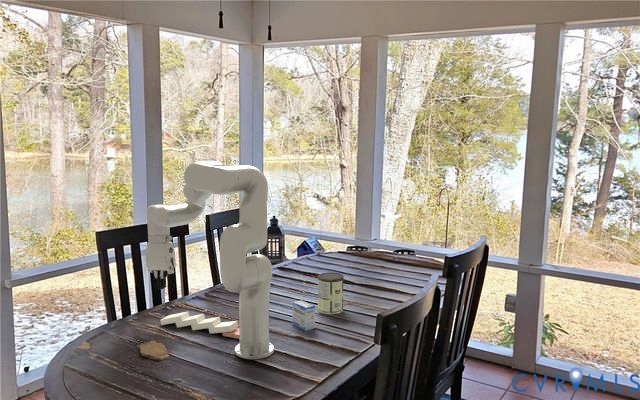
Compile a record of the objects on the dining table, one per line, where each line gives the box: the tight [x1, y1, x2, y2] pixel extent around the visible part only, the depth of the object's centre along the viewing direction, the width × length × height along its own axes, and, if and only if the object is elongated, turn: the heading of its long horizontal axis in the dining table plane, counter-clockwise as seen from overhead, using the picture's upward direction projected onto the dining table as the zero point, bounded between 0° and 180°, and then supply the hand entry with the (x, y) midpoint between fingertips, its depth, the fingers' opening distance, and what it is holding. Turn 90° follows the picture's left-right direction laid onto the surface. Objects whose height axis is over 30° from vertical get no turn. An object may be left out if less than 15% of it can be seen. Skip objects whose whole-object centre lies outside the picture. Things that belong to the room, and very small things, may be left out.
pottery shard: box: [136, 340, 170, 362], centre depth 163 cm, size 8×3×15 cm
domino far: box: [160, 310, 191, 326], centre depth 187 cm, size 2×5×9 cm
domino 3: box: [208, 320, 239, 334], centre depth 179 cm, size 2×5×9 cm
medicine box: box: [291, 300, 316, 332], centre depth 186 cm, size 8×4×9 cm, turn 40°
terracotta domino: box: [222, 327, 239, 339], centre depth 178 cm, size 2×5×9 cm
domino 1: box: [175, 313, 206, 328], centre depth 185 cm, size 2×5×9 cm
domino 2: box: [190, 316, 222, 331], centre depth 182 cm, size 2×5×9 cm
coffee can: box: [317, 272, 345, 315], centre depth 203 cm, size 10×10×14 cm
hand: (161, 288), depth 187 cm, fingers closed
